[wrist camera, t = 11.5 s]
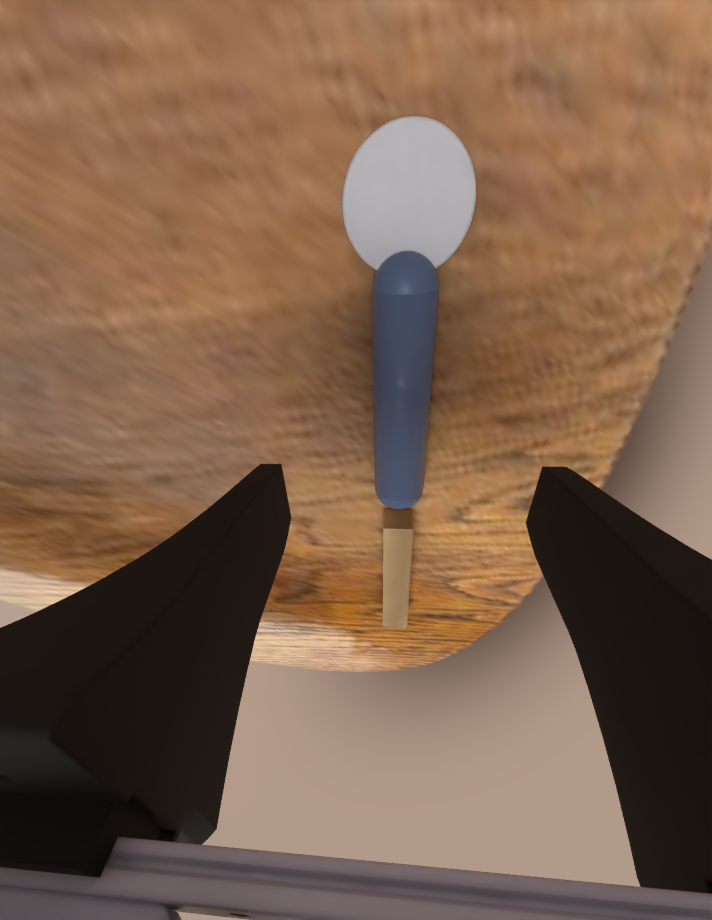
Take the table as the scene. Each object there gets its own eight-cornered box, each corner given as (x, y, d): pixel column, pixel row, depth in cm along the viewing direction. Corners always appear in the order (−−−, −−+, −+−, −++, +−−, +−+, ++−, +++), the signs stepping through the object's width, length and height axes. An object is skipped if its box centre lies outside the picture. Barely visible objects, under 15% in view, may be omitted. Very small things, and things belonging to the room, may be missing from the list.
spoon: (439, 489, 20) (444, 520, 18) (357, 488, 20) (353, 518, 18) (480, 117, 12) (498, 97, 10) (341, 126, 12) (331, 109, 10)
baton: (383, 606, 26) (382, 627, 25) (383, 508, 21) (383, 528, 20) (406, 607, 26) (407, 628, 24) (412, 509, 21) (413, 529, 19)
